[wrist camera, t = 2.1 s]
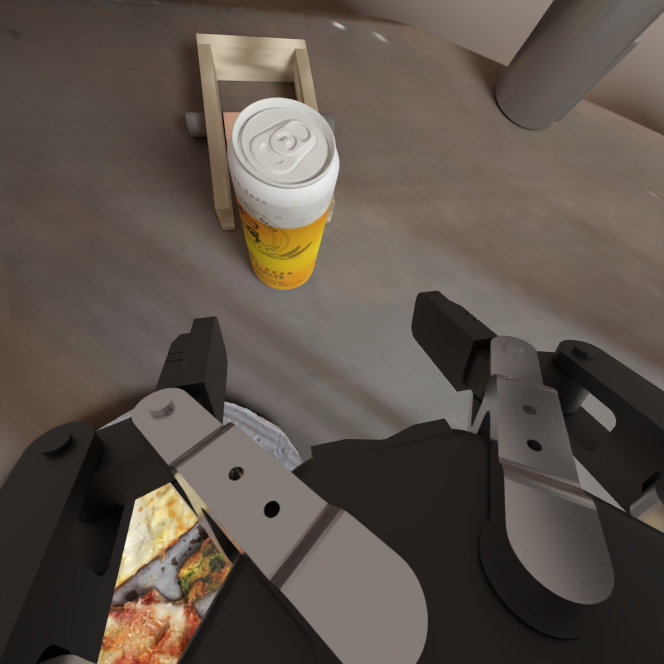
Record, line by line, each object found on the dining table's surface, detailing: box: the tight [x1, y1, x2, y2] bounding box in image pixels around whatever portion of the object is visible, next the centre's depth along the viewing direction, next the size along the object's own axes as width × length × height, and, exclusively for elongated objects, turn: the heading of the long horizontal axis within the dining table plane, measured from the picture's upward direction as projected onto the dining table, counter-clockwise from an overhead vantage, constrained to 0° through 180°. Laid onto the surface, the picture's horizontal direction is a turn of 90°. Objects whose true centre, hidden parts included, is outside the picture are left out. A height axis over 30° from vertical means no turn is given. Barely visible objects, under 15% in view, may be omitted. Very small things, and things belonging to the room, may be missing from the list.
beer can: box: [227, 98, 339, 290], centre depth 23 cm, size 6×6×15 cm
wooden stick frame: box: [185, 34, 335, 230], centre depth 30 cm, size 15×19×4 cm
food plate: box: [97, 401, 304, 664], centre depth 22 cm, size 25×23×4 cm
